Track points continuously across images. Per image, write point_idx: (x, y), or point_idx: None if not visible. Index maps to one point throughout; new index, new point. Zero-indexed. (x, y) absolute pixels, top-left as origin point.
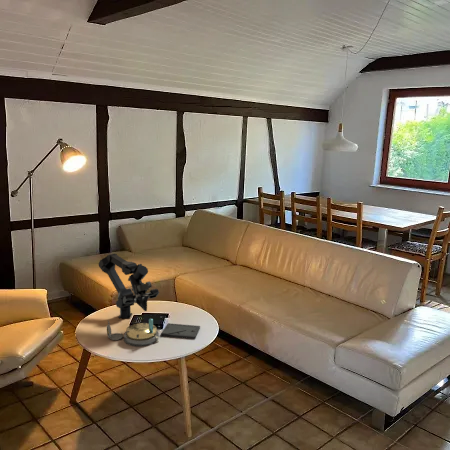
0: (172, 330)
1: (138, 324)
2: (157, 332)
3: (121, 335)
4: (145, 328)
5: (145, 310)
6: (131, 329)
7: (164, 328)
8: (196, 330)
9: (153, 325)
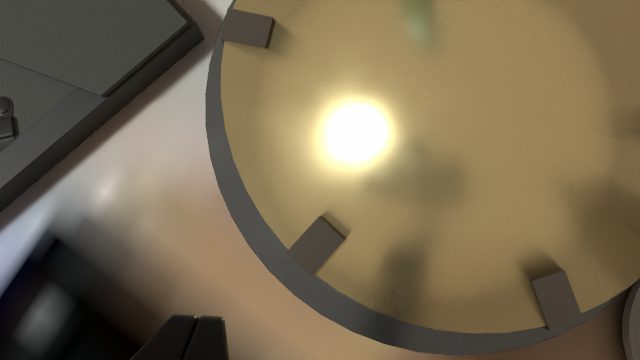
0: (20, 6)
1: (421, 278)
2: None
3: (631, 341)
4: (398, 64)
5: (223, 319)
6: (612, 164)
7: (59, 138)
8: None
9: (230, 88)
